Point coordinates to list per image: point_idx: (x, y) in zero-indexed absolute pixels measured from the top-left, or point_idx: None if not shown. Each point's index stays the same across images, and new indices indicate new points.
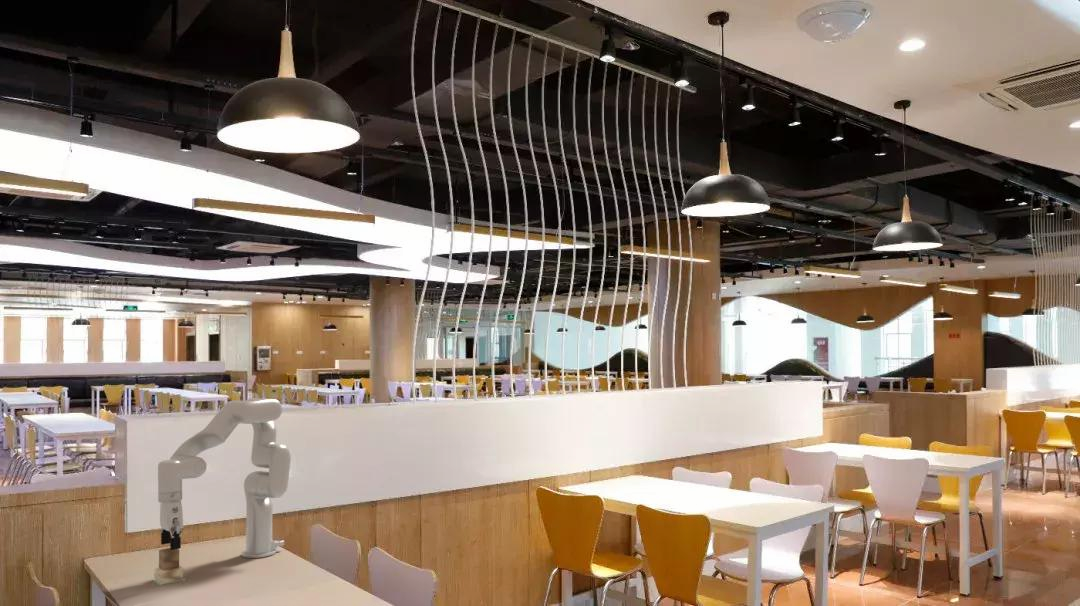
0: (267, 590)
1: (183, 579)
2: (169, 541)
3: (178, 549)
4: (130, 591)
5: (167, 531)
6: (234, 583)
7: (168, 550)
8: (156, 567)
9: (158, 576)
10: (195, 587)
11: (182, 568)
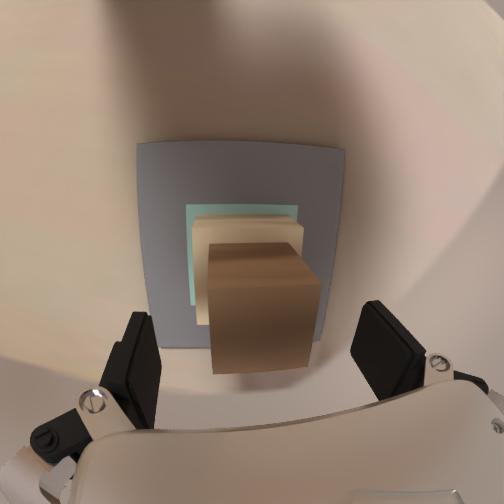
0: (496, 105)
1: (290, 212)
2: (149, 331)
3: (307, 286)
4: None
5: (134, 413)
6: (426, 102)
7: (279, 340)
8: (200, 319)
9: None
10: (383, 205)
11: (301, 229)
